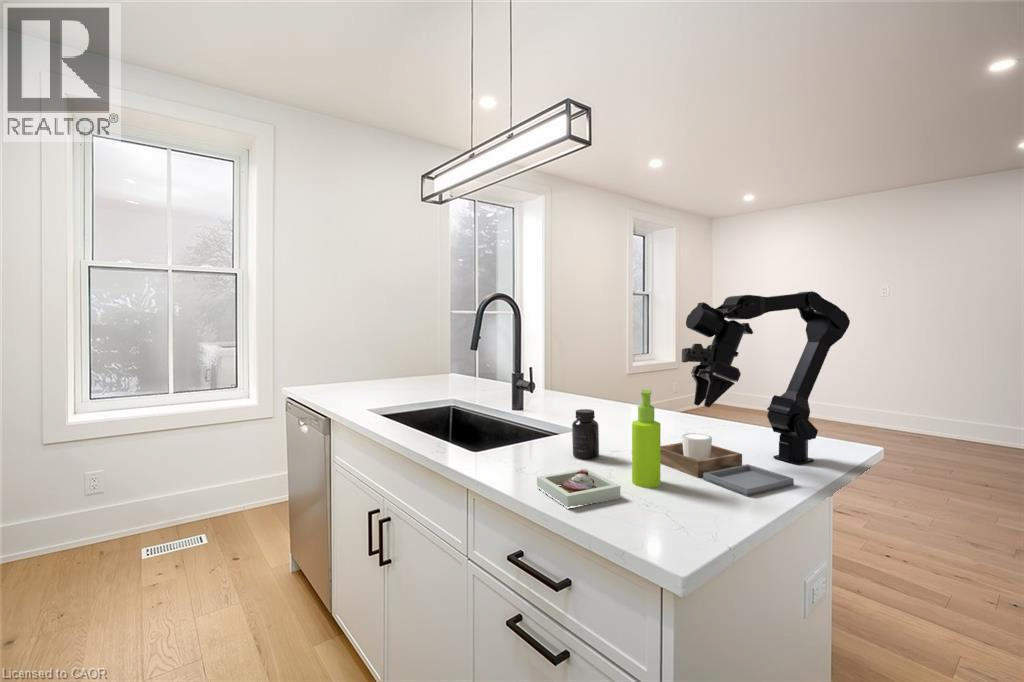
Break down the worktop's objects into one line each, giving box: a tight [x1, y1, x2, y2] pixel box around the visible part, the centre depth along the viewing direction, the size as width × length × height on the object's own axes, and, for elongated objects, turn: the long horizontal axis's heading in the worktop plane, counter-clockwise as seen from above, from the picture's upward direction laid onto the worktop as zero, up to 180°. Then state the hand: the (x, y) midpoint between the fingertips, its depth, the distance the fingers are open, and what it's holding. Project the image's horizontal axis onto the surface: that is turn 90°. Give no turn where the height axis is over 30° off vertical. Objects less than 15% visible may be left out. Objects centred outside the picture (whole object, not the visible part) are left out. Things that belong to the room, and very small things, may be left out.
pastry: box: [561, 470, 597, 493], centre depth 94 cm, size 8×8×5 cm
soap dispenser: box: [631, 389, 661, 488], centre depth 100 cm, size 6×7×20 cm
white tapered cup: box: [681, 432, 713, 460], centre depth 112 cm, size 7×7×7 cm
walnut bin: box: [660, 442, 743, 479], centre depth 112 cm, size 14×14×4 cm
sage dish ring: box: [536, 468, 621, 507], centre depth 94 cm, size 12×12×2 cm
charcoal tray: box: [702, 463, 795, 497], centre depth 99 cm, size 14×11×2 cm
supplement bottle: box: [571, 408, 600, 461], centre depth 120 cm, size 7×7×12 cm
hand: (701, 405), depth 109 cm, fingers open, 9 cm apart
